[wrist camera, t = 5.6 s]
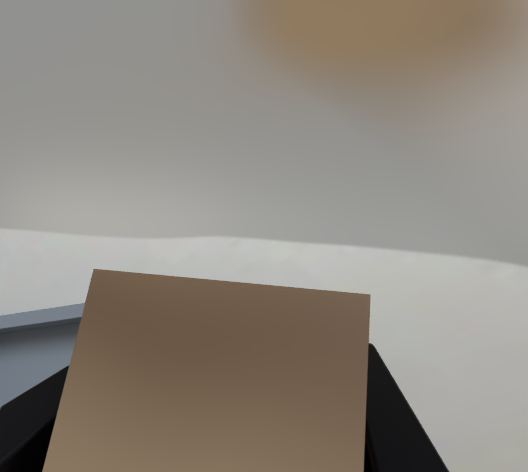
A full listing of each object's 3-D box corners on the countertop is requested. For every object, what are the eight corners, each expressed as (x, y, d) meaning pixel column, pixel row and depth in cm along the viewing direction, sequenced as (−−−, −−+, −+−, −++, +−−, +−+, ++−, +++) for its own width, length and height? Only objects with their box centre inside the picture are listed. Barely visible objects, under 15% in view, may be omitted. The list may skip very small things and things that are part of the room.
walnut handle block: (339, 454, 13) (355, 708, 4) (222, 433, 14) (10, 596, 5) (346, 328, 15) (371, 294, 5) (238, 316, 16) (93, 268, 6)
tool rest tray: (159, 536, 20) (135, 564, 17) (-43, 546, 22) (-91, 572, 19) (155, 300, 24) (134, 295, 21) (-15, 325, 26) (-52, 323, 23)
